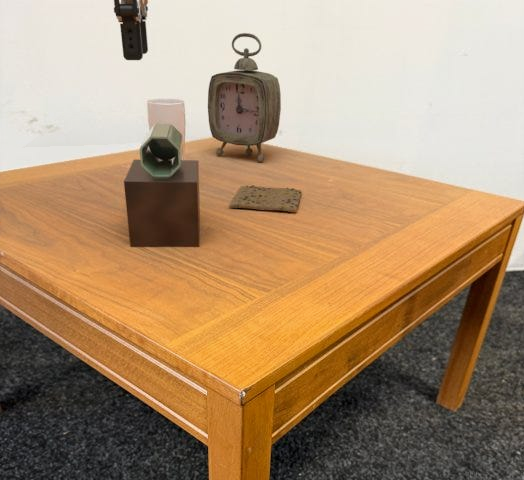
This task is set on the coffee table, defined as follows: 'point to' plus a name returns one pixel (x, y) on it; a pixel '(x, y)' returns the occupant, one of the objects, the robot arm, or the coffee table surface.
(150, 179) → the block
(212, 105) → the tabletop clock
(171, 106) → the drinking glass
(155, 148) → the cup
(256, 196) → the cookie
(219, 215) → the coffee table surface
